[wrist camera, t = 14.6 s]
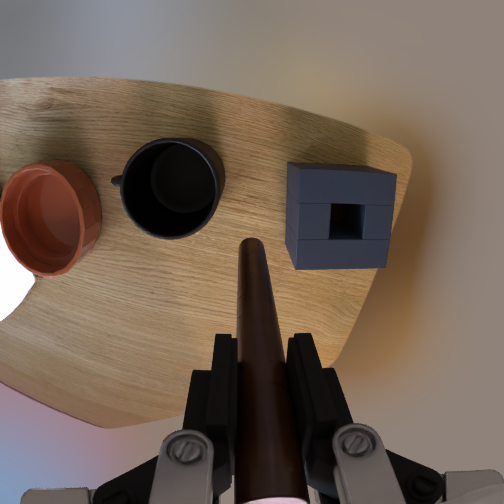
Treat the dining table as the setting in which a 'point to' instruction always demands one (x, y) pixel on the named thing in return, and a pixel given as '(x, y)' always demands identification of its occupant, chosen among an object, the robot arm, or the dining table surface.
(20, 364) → the dining table surface
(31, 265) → the bowl
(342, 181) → the holder
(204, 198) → the mug
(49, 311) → the dining table surface
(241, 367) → the stick
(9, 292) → the plate
